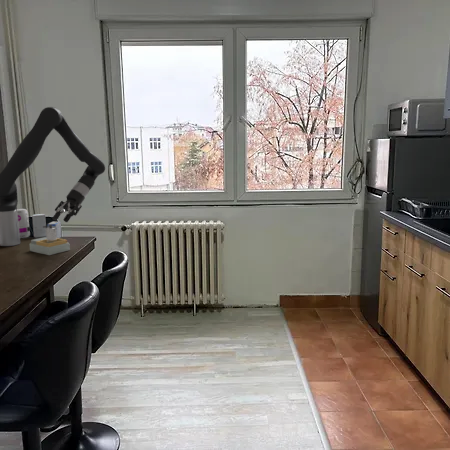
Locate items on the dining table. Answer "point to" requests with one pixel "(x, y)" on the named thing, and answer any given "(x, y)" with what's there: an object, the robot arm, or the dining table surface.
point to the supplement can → (23, 223)
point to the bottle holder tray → (49, 246)
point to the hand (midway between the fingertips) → (59, 220)
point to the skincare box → (39, 225)
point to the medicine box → (58, 228)
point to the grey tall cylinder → (51, 234)
